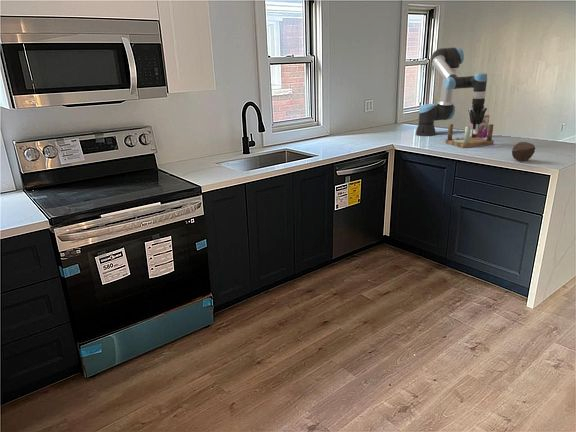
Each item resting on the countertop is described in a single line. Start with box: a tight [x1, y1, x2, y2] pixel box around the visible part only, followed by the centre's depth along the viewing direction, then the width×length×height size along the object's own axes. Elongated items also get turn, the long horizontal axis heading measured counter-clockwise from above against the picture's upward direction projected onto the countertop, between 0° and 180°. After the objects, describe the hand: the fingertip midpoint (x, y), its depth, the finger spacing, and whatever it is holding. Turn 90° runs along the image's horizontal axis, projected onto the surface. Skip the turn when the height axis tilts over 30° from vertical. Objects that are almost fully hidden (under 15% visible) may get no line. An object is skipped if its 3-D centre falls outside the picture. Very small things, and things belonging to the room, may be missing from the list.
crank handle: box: [454, 126, 471, 143], centre depth 287 cm, size 11×3×11 cm, turn 30°
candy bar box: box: [469, 113, 490, 138], centre depth 312 cm, size 11×5×16 cm, turn 84°
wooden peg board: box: [444, 123, 494, 149], centre depth 293 cm, size 20×24×14 cm
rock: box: [511, 141, 536, 162], centre depth 244 cm, size 12×10×10 cm
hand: (475, 133), depth 284 cm, fingers closed
